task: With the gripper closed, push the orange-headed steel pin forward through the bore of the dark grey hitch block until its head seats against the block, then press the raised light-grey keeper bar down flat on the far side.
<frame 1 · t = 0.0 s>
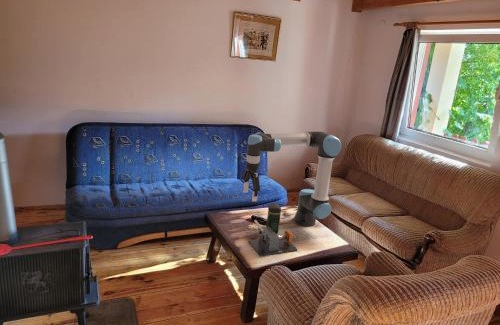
hand: (249, 196, 208), 28 cm above the table, fingers open, 13 cm apart
keeper: (260, 227, 203), point 13 cm above the table, hinge at 55.0°
hitch block: (268, 246, 209), on the table
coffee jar: (272, 231, 228), on the table
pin: (278, 237, 210), point 5 cm above the table, slide at 9.0 cm
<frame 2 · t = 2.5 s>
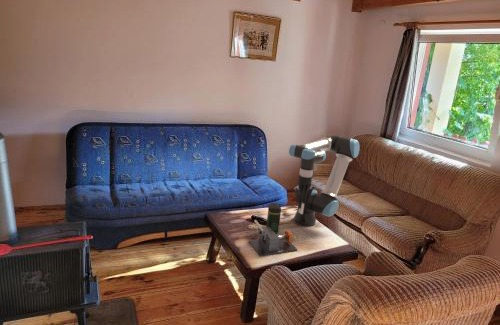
hand: (300, 212, 211), 20 cm above the table, fingers closed
nothing on the table moved.
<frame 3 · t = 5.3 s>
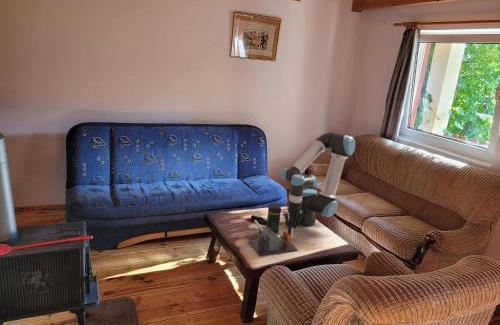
hand: (290, 237, 213), 5 cm above the table, fingers closed
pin: (276, 237, 210), point 5 cm above the table, slide at 7.8 cm, touching gripper
everything else where it was.
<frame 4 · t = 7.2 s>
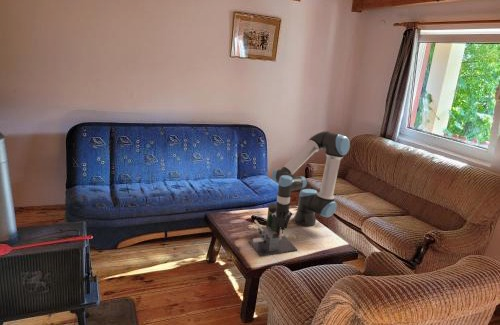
hand: (279, 238, 210), 5 cm above the table, fingers closed
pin: (264, 239, 207), point 5 cm above the table, slide at 0.0 cm, touching gripper, hitch block
everything else where it was.
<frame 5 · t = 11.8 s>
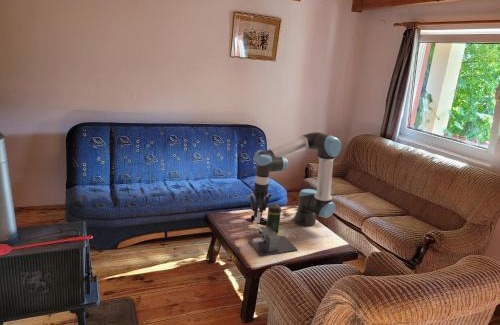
hand: (257, 221, 201), 17 cm above the table, fingers closed
keeper: (259, 228, 203), point 13 cm above the table, hinge at 48.7°, touching gripper
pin: (264, 239, 207), point 5 cm above the table, slide at 0.0 cm
everything else where it was.
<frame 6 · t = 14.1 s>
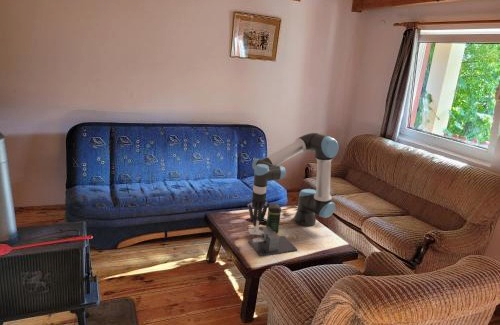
hand: (255, 230, 202), 12 cm above the table, fingers closed
keeper: (257, 232, 203), point 11 cm above the table, hinge at 11.5°, touching gripper
everything else where it was.
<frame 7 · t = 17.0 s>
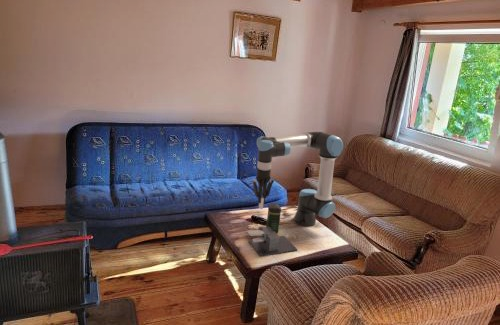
hand: (260, 207, 201), 25 cm above the table, fingers closed
keeper: (256, 232, 203), point 10 cm above the table, hinge at 4.5°
everything else where it was.
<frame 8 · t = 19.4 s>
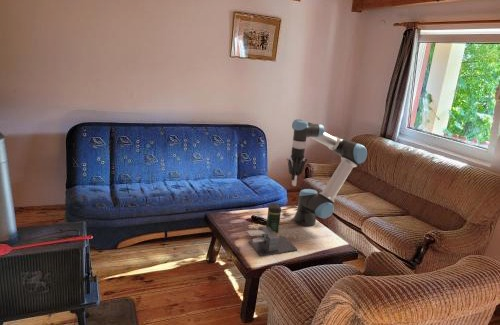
hand: (293, 185, 214), 34 cm above the table, fingers closed
nothing on the table moved.
at the end: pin slide at 0.0 cm; keeper at +4° (first picture: +55°); keeper touching nothing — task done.
